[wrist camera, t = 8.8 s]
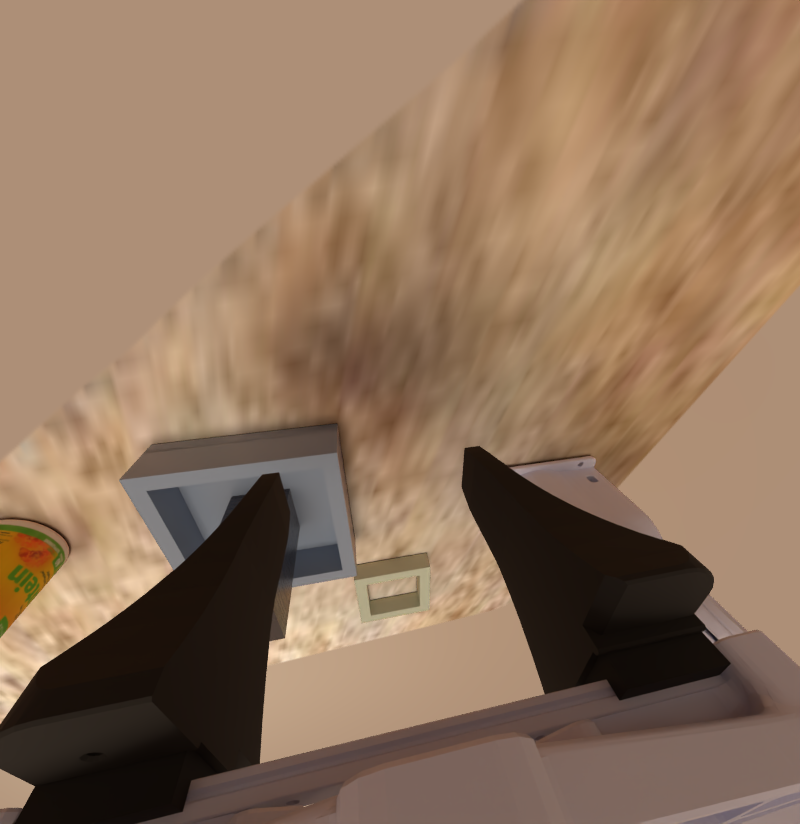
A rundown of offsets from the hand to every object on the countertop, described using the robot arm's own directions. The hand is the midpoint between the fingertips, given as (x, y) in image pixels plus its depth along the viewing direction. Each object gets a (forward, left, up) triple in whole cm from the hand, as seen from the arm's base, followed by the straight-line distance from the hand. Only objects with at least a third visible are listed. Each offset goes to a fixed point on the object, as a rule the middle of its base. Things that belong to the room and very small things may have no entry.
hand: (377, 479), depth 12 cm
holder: (-1, +22, -10) cm, 24 cm away
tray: (+8, +9, -10) cm, 16 cm away
